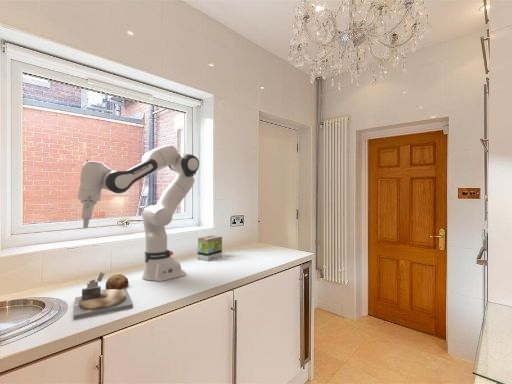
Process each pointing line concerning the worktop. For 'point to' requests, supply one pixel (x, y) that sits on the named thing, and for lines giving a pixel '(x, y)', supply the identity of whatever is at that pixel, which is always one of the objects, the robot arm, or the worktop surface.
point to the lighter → (95, 283)
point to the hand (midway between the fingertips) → (85, 226)
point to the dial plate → (84, 312)
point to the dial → (100, 297)
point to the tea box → (209, 248)
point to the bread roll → (117, 282)
